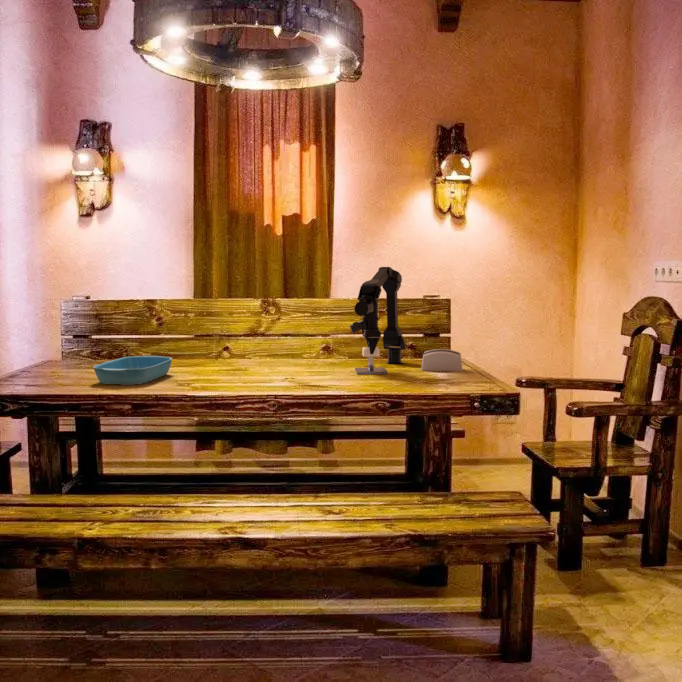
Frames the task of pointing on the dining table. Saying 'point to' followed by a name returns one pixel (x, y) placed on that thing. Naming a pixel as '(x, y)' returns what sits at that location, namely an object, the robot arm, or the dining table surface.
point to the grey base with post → (371, 368)
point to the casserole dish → (132, 370)
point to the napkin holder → (441, 360)
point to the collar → (367, 352)
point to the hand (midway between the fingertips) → (370, 353)
